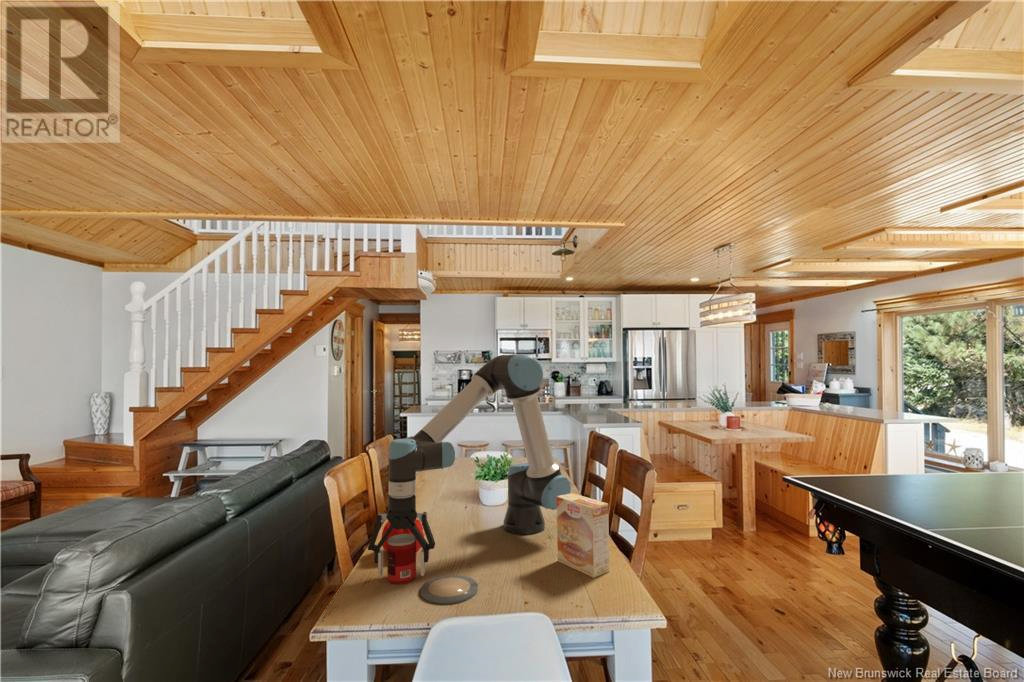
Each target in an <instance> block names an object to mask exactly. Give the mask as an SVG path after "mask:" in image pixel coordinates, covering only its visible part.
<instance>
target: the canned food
mask: <svg viewBox="0 0 1024 682" xmlns="http://www.w3.org/2000/svg"><path fill="white" fill-rule="evenodd" d="M416 575H417V552H416V538H415V536H414V535H412V534H398V535H394V536H392V537H390V538H389V539H388V553H387V581H388V582H389V583H390V584H393V585H402V583H404V584H407V582H408V583H410V582H412V581H413V580H414V579H415V578H416Z"/></svg>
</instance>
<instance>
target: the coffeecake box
mask: <svg viewBox="0 0 1024 682" xmlns="http://www.w3.org/2000/svg"><path fill="white" fill-rule="evenodd" d="M556 518H557V519H556V524H557V527H556V530H557V532H556V533H557V534H556V535H557V536H556V537H557V538H556V539H557V543H556V545H557V546H556V547H557V562H559V563H561V564H563V565H565V566H568V567H569V568H571V569H573V570H575V571H578V572H580V573H583V574H585V576H586V575H587V576H588V577H590V578H593V579H594V578H597V577H600V576H601V575H603V574H604V575H605V574H606V573H609V572H610V540H609V539H610V532H609V522H610V521H609V503H607V502H605V501H604V502H603V501H601V500H598V499H593V498H591V497H588V496H583V495H581V494H577V493H574V492H571V493H570V494H565V495H560V496H557V510H556Z"/></svg>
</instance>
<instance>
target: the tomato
mask: <svg viewBox="0 0 1024 682" xmlns="http://www.w3.org/2000/svg"><path fill="white" fill-rule="evenodd" d="M414 522H415V524H416V526H417V528H418V529H419V531H420V532H421V534H422V535H423V537H424V538H425V532H424V529H423V526H422V522H421V521H419V519H418V518H416V520H415V521H414ZM390 525H391V524H390V522H389V521H388V520H387V522H386V524H385V525H384V527H383V529H382V533H381V538H380V540H381V539H382V537H383V536H384V534H385V533H386V531H387V530H388V528H389V526H390ZM398 534H412V535H413V533H412V532H411V531H410V530H409V528H408V529H407V530H404V529H399V530H396V529H394V528H393V530H392V531H391V533H390V534H389V536H388V537H387V539H386V540H385V542H384V544H383V545H382V549H383V551H385V553H386V554H388V539H389V538H390V537H392V536H394V535H398ZM421 549H422V547H421V545H420V544H419V542H418V541H417V539H416V553H417V552H418V551H420V550H421Z"/></svg>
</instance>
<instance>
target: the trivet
mask: <svg viewBox="0 0 1024 682" xmlns="http://www.w3.org/2000/svg"><path fill="white" fill-rule="evenodd" d="M478 590H479V586H478V583H477V581H476V580H475V579H474V578H472V577H469V576H466V575H460V574H445V575H440V576H439V575H438V576H436V577H433V578H430V579H428V580H427V581H425V582H424V583H423V584H422V585H421V587H420V596H421V597H422V599H423V600H425V601H426V600H427V602H429V603H431V602H432V604H437V605H453V604H460V603H463V602H466V601H469V600H470V599H472V598H473V597H475V596H476V594H477V593H478ZM459 602H460V603H459Z"/></svg>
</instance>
